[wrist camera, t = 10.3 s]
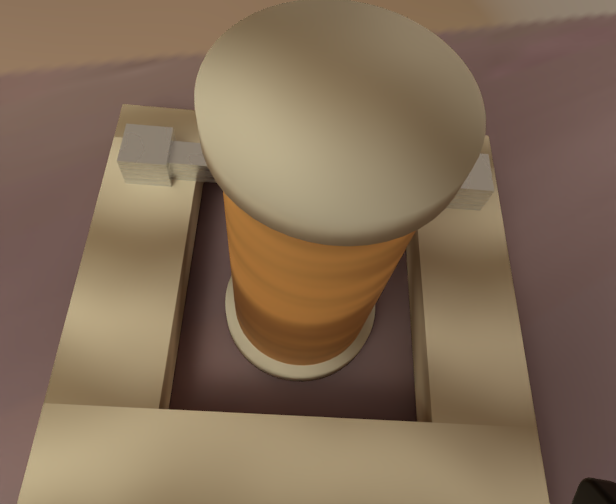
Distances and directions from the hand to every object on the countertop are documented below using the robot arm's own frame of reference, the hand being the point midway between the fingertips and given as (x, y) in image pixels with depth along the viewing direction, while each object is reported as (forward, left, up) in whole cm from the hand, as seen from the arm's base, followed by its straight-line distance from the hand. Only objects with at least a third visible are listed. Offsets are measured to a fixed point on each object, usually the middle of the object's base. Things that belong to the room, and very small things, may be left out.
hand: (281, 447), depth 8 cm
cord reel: (+7, -1, -13) cm, 15 cm away
